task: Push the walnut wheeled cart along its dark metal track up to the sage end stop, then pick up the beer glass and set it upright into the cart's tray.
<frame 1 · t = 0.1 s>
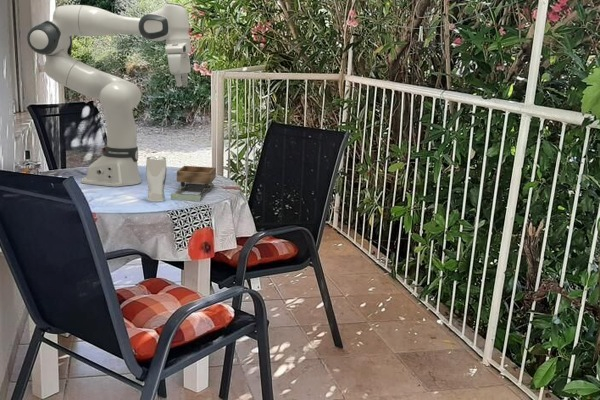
hand: (182, 86, 229), 39 cm above the table, tool pointing down, fingers open, 8 cm apart
beer glass: (156, 200, 213), on the table
cart: (196, 177, 233), point 4 cm above the table, slide at 0.0 cm
track: (193, 192, 228), on the table
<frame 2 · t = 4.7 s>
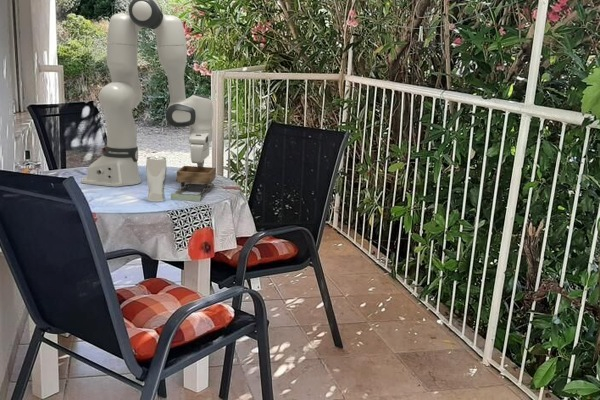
hand: (200, 170, 241), 6 cm above the table, tool pointing down, fingers closed
cart: (196, 177, 233), point 4 cm above the table, slide at 0.2 cm, touching gripper
everything else where it was.
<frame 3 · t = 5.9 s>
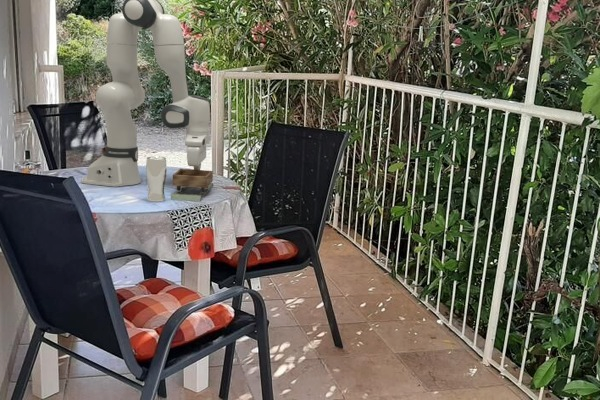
hand: (197, 174, 234), 6 cm above the table, tool pointing down, fingers closed
cart: (193, 181, 227), point 4 cm above the table, slide at 7.1 cm, touching gripper
everything else where it was.
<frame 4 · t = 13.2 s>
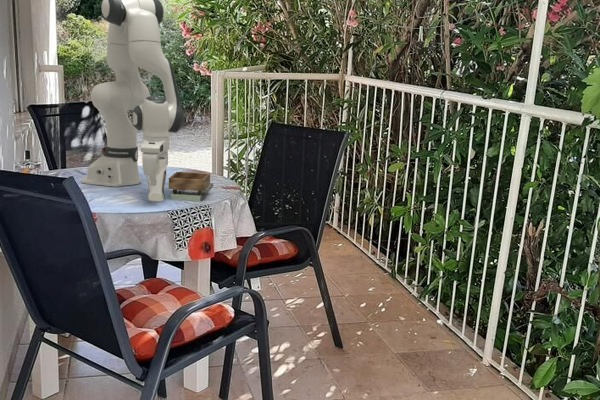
hand: (156, 183, 212), 6 cm above the table, tool pointing down, fingers closed on beer glass, 6 cm apart
beer glass: (156, 200, 213), on the table, touching gripper
cart: (189, 184, 221), point 4 cm above the table, slide at 13.0 cm
everything else where it was.
when the fingers open (12 cm above the table, at t = 19.6 s): beer glass drops 1 cm, resting on cart.
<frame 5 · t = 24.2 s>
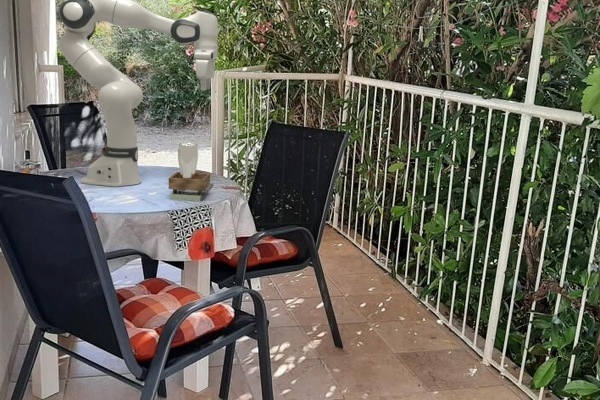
hand: (205, 89, 240), 37 cm above the table, tool pointing down, fingers open, 8 cm apart
beer glass: (187, 185, 218), point 4 cm above the table, touching cart
cart: (189, 184, 221), point 4 cm above the table, slide at 13.0 cm, touching beer glass
everything else where it was.
at the end: cart slide at 13.0 cm; beer glass inside the target area (2.5 cm from its centre), point 4.3 cm above the table; beer glass tilted 0° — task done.
